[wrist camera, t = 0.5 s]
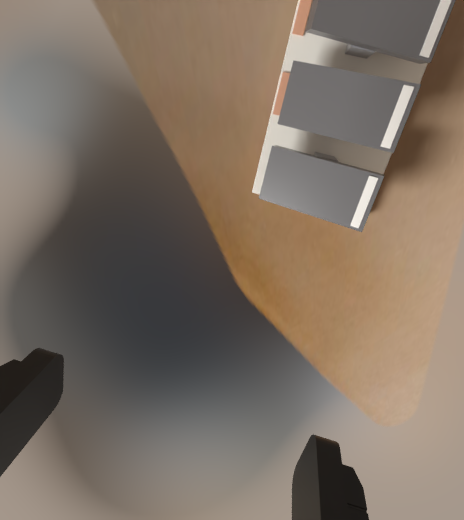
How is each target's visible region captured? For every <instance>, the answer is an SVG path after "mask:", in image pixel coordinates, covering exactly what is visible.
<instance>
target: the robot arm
mask: <svg viewBox="0 0 464 520" xmlns="http://www.w3.org/2000/svg"><path fill="white" fill-rule="evenodd" d="M63 363H64V358H63V356H62V355H61V354H58V353H54V352H51V351H48V350H45V349H42V348H37V349H35V350H33V351H32V352H31V353H30V354H29V355H28V356H27V357H26V358H25V359H24V360H23V361H21V362H20V361H18V360H12V361H10V362H8V363H6V364H4V365H2V366H0V476H1V475H2V474H3V472H4V471H5V470H6V469H7V467H8V466H9V465H10V464H11V463H12V461H13V460H14V459H15V458H16V456H17V455H18V454H19V453H20V451H21V450H22V449H23V448H24V446H25V445H26V444H27V442H28V441H29V440H30V439H31V437H32V436H33V435H34V434H35V433H36V431H37V430H38V429H39V428H40V426H41V425H42V424H43V422H44V421H45V420H46V419H47V418H48V416H49V415H50V414H51V413H52V411H53V410H54V408H55V407H56V406H57V404H58V402H59V400H60V398H61V395H62V392H63V368H64V364H63ZM366 511H367V507H366V501H365V495H364V490H363V487H362V485H361V483H360V481H359V479H358V477H357V475H356V473H355V471H354V469H353V468H352V467H349V466H346V465H343V464H342V461H341V453H340V447H339V444H338V443H337V442H335V441H332V440H329V439H326V438H322V437H319V436H316V435H311V437H310V439H309V441H308V443H307V445H306V447H305V449H304V451H303V453H302V455H301V457H300V459H299V461H298V463H297V465H296V468H295V471H294V475H293V484H292V520H369V518H368V514H367V512H366Z"/></svg>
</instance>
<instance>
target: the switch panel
mask: <svg viewBox="0 0 464 520" xmlns="http://www.w3.org/2000/svg"><path fill="white" fill-rule="evenodd" d="M312 3H313V0H298V4H297V8H296V12H295V16H294V20H293V24H292V29H291V33H290V37H289V41H288V45H287V49H286V53H285V58H284V62H283V66H282V70H281V74H280V78H279V82H278V87H277V91H276V95H275V99H274V103H273V107H272V112H271V116H270V120H269V124H268V128H267V132H266V136H265V141H264V145H263V149H262V153H261V157H260V161H259V166H258V170H257V174H256V178H255V182H254V186H253V190H252V192H253V193H256V194H260V191H261V187H262V183H263V179H264V175H265V171H266V167H267V163H268V159H269V155H270V151H271V148H272V146H274V145H278V146H281V147H285V148H289V149H292V150H296V151H300V152H303V153H307V154H311V155H315V156H318V157H322V158H326V159H329V160H333V161H337V162H340V163H344V164H348V165H351V166H355V167H359V168H363V169H366V170H370V171H374V172H377V173H381V174H384V172H385V169H386V167H387V164H388V162H389V159H390V157H391V154H392V153H391V152H387V151H383V150H379V149H375V148H371V147H367V146H363V145H359V144H355V143H351V142H347V141H343V140H339V139H335V138H331V137H327V136H323V135H319V134H315V133H311V132H307V131H303V130H299V129H295V128H291V127H287V126H283V125H279V124H278V120H279V116H280V112H281V108H282V104H283V100H284V96H285V92H286V88H287V84H288V80H289V76H290V72H291V68H292V64H293V60H294V61H300V62H305V63H310V64H316V65H321V66H326V67H332V68H337V69H342V70H348V71H353V72H358V73H363V74H369V75H374V76H379V77H385V78H390V79H395V80H401V81H406V82H411V83H417V84H420V81H421V79H422V76H423V74H424V71H425V69H426V66H427V64H428V63H423V64H418V63H415V62H411V61H407V60H404V59H400V58H397V57H393V56H390V55H386V54H382V53H379V52H375V51H372V50H368V49H364V48H361V47H357V46H354V45H350V44H347V43H343V42H339V41H336V40H332V39H329V38H325V37H322V36H318V35H314V34H311V33H307V32H305V31H306V27H307V23H308V19H309V15H310V11H311V7H312Z"/></svg>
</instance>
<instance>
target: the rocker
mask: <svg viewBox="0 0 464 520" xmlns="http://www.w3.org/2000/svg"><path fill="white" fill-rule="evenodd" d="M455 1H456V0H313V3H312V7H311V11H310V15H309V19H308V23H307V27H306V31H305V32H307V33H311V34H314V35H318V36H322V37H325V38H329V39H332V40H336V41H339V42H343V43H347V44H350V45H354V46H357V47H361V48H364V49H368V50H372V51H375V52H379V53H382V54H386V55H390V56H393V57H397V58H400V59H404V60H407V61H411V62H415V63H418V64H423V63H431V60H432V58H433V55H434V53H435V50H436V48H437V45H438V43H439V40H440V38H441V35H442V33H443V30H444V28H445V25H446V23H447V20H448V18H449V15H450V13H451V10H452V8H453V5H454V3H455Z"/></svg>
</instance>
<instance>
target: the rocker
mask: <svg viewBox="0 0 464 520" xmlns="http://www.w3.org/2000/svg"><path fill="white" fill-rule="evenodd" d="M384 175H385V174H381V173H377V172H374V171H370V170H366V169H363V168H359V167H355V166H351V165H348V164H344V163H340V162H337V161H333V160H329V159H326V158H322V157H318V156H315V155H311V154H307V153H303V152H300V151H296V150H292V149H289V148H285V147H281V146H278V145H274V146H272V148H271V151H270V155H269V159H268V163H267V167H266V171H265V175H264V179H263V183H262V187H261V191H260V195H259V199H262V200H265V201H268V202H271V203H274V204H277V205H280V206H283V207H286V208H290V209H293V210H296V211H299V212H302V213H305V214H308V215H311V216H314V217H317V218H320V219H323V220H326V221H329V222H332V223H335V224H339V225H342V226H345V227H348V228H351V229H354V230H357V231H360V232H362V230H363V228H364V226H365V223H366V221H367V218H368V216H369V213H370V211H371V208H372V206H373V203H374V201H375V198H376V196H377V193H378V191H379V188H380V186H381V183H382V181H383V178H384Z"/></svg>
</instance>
